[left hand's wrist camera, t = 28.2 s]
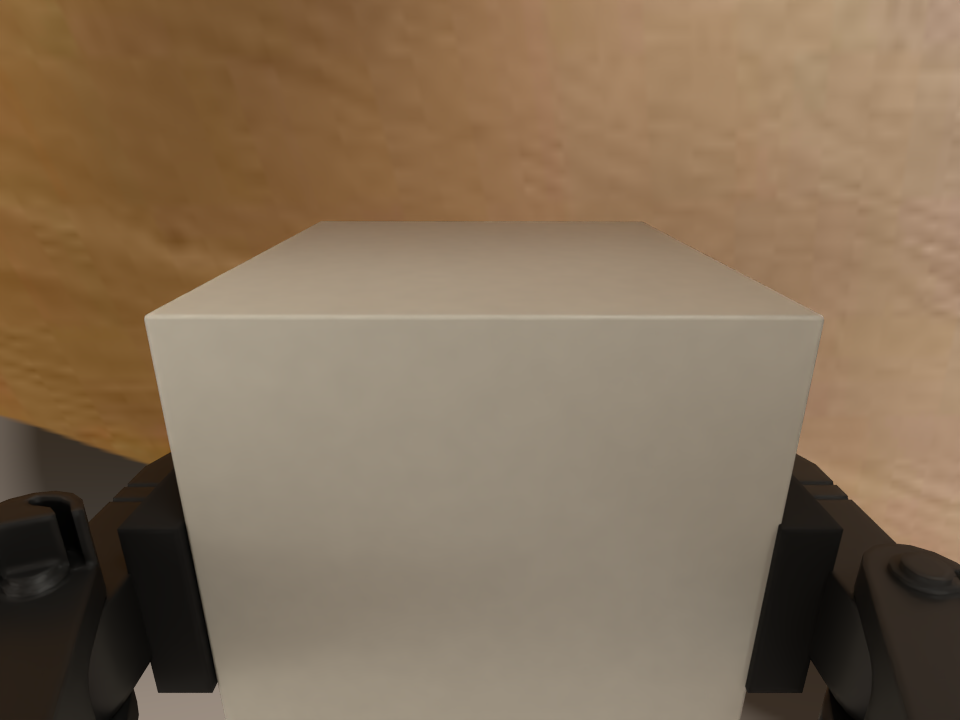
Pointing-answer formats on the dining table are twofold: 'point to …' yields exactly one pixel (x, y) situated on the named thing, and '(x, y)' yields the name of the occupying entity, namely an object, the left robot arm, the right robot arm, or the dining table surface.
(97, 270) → the dining table surface
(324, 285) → the block
